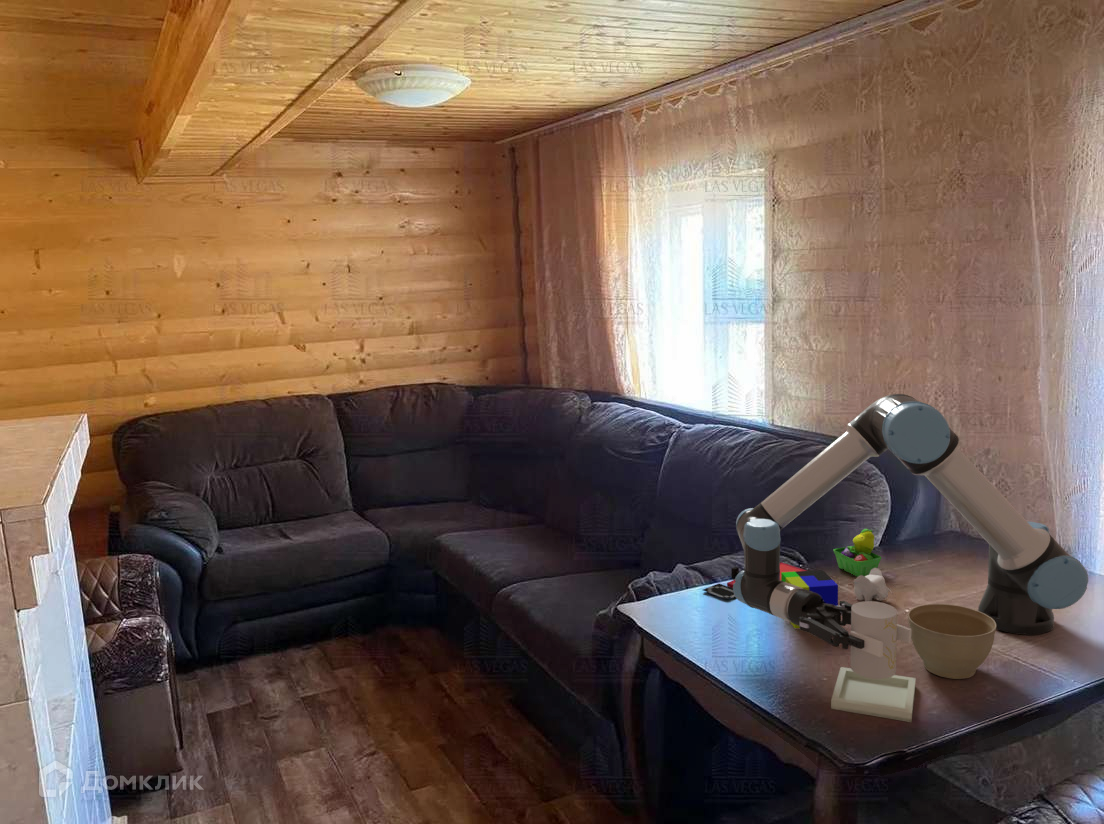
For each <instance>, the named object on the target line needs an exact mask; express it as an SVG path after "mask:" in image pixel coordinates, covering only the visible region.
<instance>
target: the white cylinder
mask: <svg viewBox="0 0 1104 824" xmlns="http://www.w3.org/2000/svg"><path fill="white" fill-rule="evenodd" d="M897 624H898V610H897V609H896V607H894V606H893V605H891V604H888V603H885V602H880V601H874V600H872V601H865V600H862V601H859V602H855V603H853V605H852V607H851V625H850V632H851V631H855V632H857V633H860V634H863V635H865V636H868V637H871V638H873V639H876V640H878V641H881V642H883V656H882V657H878V656H876V655H873V654H871V653H868V652H866V651H863V650H861V649H858V648H856V647H853V646H851V645H850V667H849V668H851V669H852V671H853V672H855V673H856V674H858V675H860V676H863V677H866V678H872V679H886V678H890V677H892V676H894V675H896V672H897V640H898V639H897Z"/></svg>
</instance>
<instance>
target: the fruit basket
mask: <svg viewBox="0 0 1104 824" xmlns="http://www.w3.org/2000/svg"><path fill="white" fill-rule="evenodd" d="M875 539H876V537H875V534H874V533H873V530H871V529H868V528H864V529H862V530H861V532H860V534H857V535H856V536H855V537H854V538H853V539H852V543H853V545H850V546H849V545H848V546H845V547H843V546H842V547H838V548H833V554H834V555H835V558H836V563H837V566H838V568H839V569H841V570H843V569H844V570H843V571H845V572H847V573H849V574H850V573H851V575H852V574H853V576H855V577H856V578H857V577H858V576H860V575H862V576H864V577H865V576H867V575H869V574H870V571H871V570H872V569H873V568H878V567H879V564H880V562H881V560H882V556H880V555H878V554H876V553H874V552H872V551H873V549H874V548H875ZM878 569H879V568H878Z"/></svg>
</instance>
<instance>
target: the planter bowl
mask: <svg viewBox="0 0 1104 824" xmlns="http://www.w3.org/2000/svg"><path fill="white" fill-rule="evenodd" d="M907 620H908V622H909V623H908V624H909V625H908V628H910V629H911V643H912V644H913V646H914V649H915V651H916V652H917V654H918V656H919V657H920V658H921V660H922V661H923V666H924V668H925V669H926V670H927V671H928V672H930V673H932V674H934V675H936V676H939V677H943V678H947V679H953V680H960V679H961V680H962V679H963V680H964V679H968V678H969V679H970V678H971V677H973V676H974V675H975V674H976V672H977V669H978V668H980V666H981V665H982V664H983V663H984V662H985V660H986V659H987V658H988V656H989V655H990V653H991V651H992V648H993V645H994V640H995V634H996V632H997V629H996V622H995V621H994V620H993V619H992V618H991V617H989V616H988V615H986V614H984V613H982V612H980V611H978V609H977V610H976V609H973V608H970V607H966V606H962V605H956V604H949V603H946V604H945V603H932V604H931V603H930V604H923V605H918V606H917V605H916V606H915V607H913V608H911V609H910V610H909V611H908V613H907Z"/></svg>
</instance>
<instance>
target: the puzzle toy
mask: <svg viewBox="0 0 1104 824" xmlns="http://www.w3.org/2000/svg"><path fill="white" fill-rule="evenodd" d="M781 581H784V582H786V583H789V584H792V585H795V586H798V587H801V588H803V589H806V590H809V591H812V592H815V593H817V594H819V595H820V596H821V597H822V599H823V601H824V602H825V603H827V604H833V605H835V606H838V605H839V585H838V583H837V582H835V580H834V579H832V578H831V576H829V574H827V573H826V572H825V571H824V569H812V570H807V571H795V572H781ZM789 623H790V625H791V626H792V625H793V626H792V628H794V629H795V628H800V626H798V625H796V624H793V623H792V622H789Z"/></svg>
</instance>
